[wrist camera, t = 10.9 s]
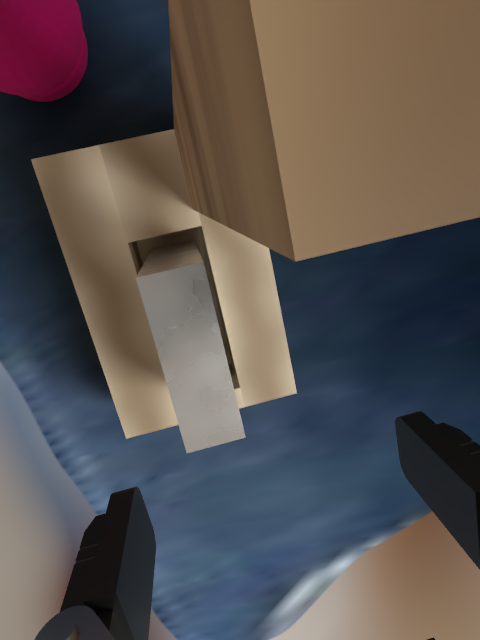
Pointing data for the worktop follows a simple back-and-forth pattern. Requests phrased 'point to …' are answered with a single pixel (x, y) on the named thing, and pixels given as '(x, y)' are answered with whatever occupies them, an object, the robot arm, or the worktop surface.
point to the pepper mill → (41, 48)
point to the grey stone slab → (190, 345)
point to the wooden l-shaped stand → (269, 171)
